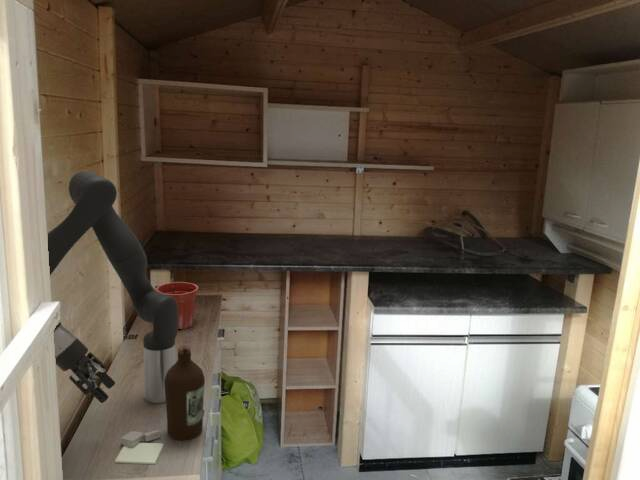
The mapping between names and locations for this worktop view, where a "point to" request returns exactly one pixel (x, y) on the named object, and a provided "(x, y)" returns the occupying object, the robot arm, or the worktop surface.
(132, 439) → the lighter
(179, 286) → the flower pot
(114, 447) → the worktop surface
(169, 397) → the olive oil
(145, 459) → the mat
